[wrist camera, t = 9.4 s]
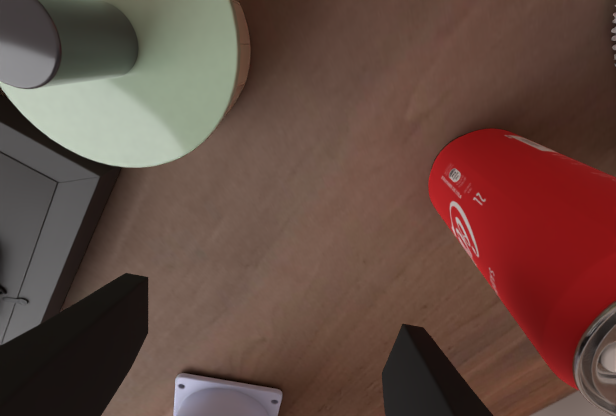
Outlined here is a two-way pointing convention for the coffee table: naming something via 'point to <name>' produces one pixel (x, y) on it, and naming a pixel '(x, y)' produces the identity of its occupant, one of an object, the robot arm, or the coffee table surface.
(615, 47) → the grey angular bracket
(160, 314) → the coffee table surface
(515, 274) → the beverage can
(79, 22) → the cover
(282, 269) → the coffee table surface
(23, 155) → the picture frame
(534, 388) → the coffee table surface
